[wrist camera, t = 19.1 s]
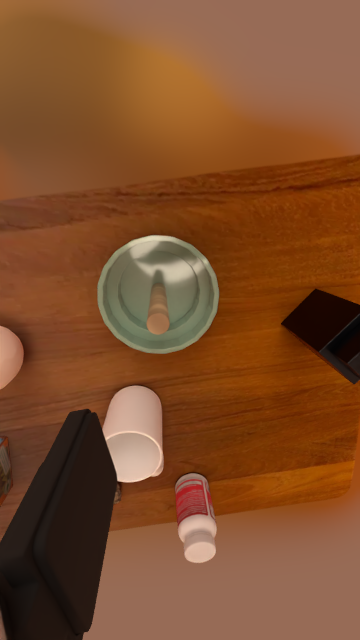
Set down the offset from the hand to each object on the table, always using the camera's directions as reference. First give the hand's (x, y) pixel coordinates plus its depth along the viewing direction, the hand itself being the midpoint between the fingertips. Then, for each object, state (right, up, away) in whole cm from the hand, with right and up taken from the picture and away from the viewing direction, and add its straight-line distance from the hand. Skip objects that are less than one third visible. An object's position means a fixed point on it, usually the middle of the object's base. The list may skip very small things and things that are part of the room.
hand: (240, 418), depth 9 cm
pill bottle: (0, -27, +40) cm, 49 cm away
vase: (+18, +3, +31) cm, 36 cm away
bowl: (-5, +8, +28) cm, 29 cm away
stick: (-5, +7, +27) cm, 29 cm away
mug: (-8, -12, +34) cm, 37 cm away
